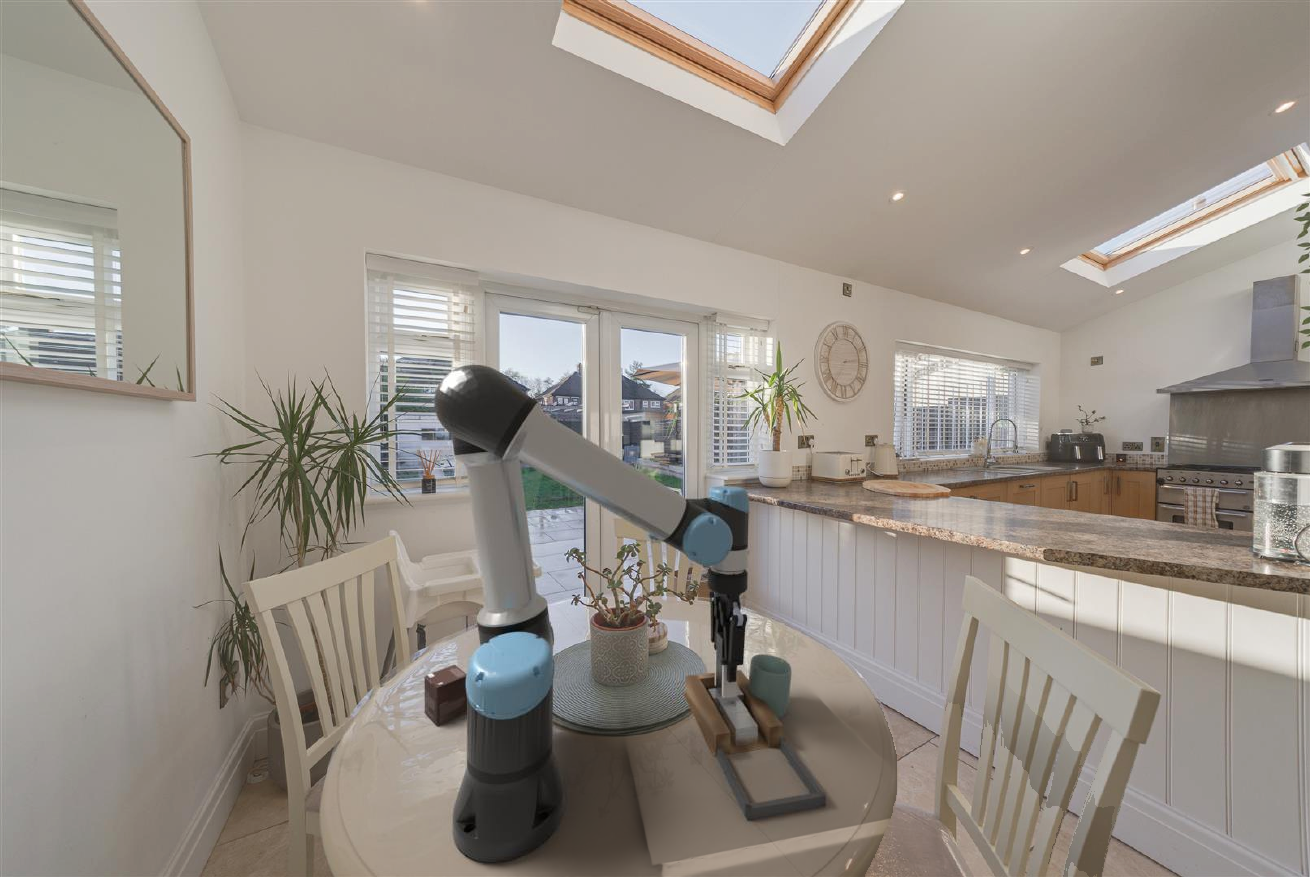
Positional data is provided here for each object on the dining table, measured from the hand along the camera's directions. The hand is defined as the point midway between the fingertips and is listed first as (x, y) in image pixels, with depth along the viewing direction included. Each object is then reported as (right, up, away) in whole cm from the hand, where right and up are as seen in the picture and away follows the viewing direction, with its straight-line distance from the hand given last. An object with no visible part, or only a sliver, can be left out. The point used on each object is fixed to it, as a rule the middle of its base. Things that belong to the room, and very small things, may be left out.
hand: (725, 690), depth 85 cm
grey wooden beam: (0, -3, 0) cm, 3 cm away
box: (-54, -5, +1) cm, 54 cm away
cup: (+8, -6, +1) cm, 10 cm away
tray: (+4, -6, -17) cm, 18 cm away
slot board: (0, -5, -2) cm, 6 cm away
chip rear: (+1, -4, -3) cm, 5 cm away
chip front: (+2, -4, -7) cm, 8 cm away
